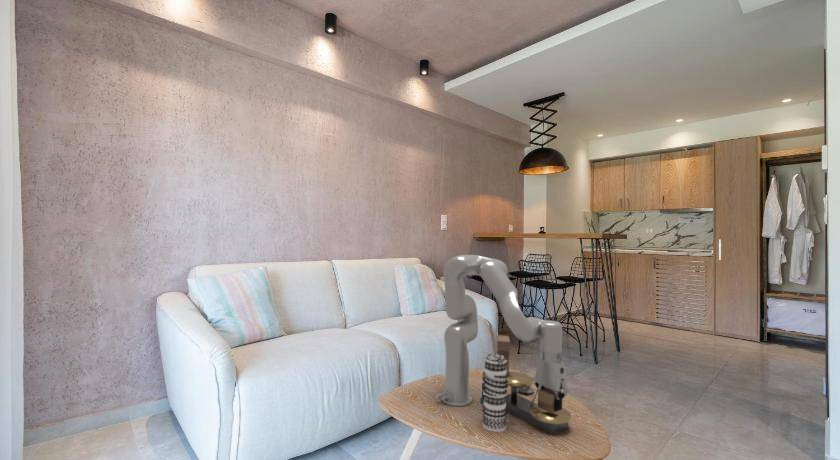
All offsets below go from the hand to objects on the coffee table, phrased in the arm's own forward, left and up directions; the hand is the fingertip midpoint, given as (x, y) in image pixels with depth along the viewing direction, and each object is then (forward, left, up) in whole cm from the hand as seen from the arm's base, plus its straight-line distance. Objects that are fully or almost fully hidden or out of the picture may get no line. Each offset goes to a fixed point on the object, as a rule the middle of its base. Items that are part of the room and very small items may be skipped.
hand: (549, 405), depth 137 cm
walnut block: (0, 0, -1) cm, 1 cm away
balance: (0, +9, -7) cm, 11 cm away
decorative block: (+18, +41, -8) cm, 45 cm away
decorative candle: (-17, +11, -8) cm, 21 cm away
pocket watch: (+16, +26, -8) cm, 31 cm away
